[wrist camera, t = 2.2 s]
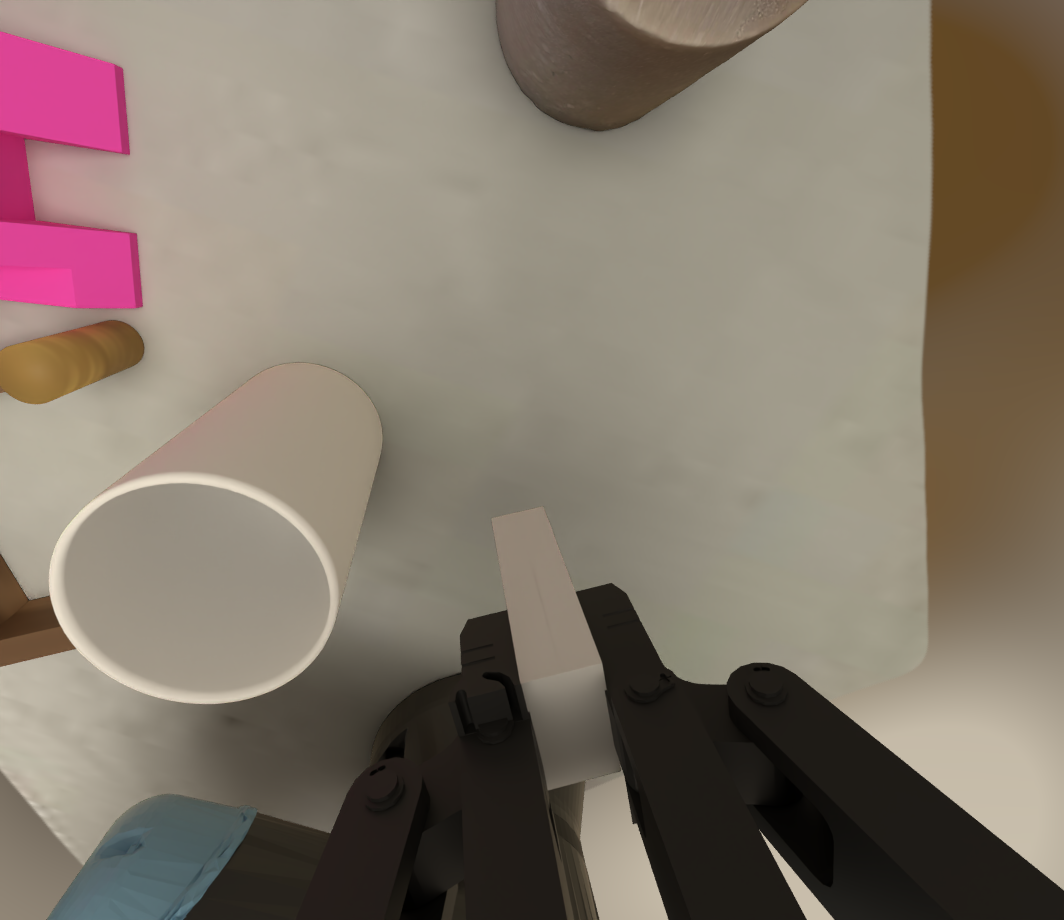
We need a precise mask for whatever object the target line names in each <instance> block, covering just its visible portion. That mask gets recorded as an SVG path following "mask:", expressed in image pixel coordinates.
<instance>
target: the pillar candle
mask: <svg viewBox="0 0 1064 920" xmlns="http://www.w3.org/2000/svg"><path fill="white" fill-rule="evenodd" d="M807 1H808V0H496V21H497V28H498V34H499V38H500V42H501V46H502V50H503V53H504V57H505V59H506V62H507V65H508V67H509V69H510V71H511V73H512V74H513V76H514V78H515V80H516V81H517V83H518V85H519V86H520V88H521V90H522V91H523V92H524V93H525V95H527V96H528V97H529V98H530V99H531V100H532V101H533V102H534V104H535V105H536V106H537V107H538V108H539V109H540V110H542V111H543V112H545V113H546V114H548V115H550V116H551V117H553V118H555V119H557V120H559V121H561V122H563V123H566V124H569V125H572V126H577V127H582V128H589V129H593V130H595V131H604V130H609V129H615V128H619V127H622V126H625V125H627V124H628V123H631V122H633V121H636V120H638V119H640V118H641V117H643V116H644V115H645V114H647V113H648V112H650V111H651V110H653V109H654V108H656V107H658V106H660V105H661V104H662V103H664V102H666V101H667V100H668V99H670V98H671V97H673V96H675V95H676V94H678V93H680V92H681V91H683V90H684V89H685V88H687V87H688V86H690V85H691V84H693V83H694V82H696V81H697V80H698V79H700V78H701V77H703V76H704V75H705V74H707V73H708V72H710V71H711V70H713V69H715V68H716V67H718V66H719V65H721V64H722V63H724V62H726V61H727V60H729V59H730V58H731V57H733V56H734V55H735V54H737V53H738V52H740V51H742V50H743V49H744V48H746V47H747V46H749V45H750V44H752V43H753V42H755V41H756V40H757V39H759V38H760V37H762V36H763V35H765V34H766V33H768V32H769V31H771V30H772V29H774V28H775V27H776V26H778V25H779V24H780V23H782V22H783V21H784V20H785V19H787V18H788V17H789V16H790V15H792V14H793V13H794V12H795V11H797V10H798V9H799V8H800V7H801V6H802V5H804V4H805V3H806V2H807Z"/></svg>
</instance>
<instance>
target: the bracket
mask: <svg viewBox="0 0 1064 920" xmlns="http://www.w3.org/2000/svg"><path fill="white" fill-rule="evenodd" d="M24 138H25V139H31V140H38V141H44V142H51V143H57V144H64V145H70V146H77V147H83V148H90V149H96V150H103V151H109V152H116V153H122V154H128V155H130V149H129V138H128V126H127V114H126V102H125V90H124V78H123V69H122V68H120V67H118V66H117V65H115V64H112V63H108V62H105V61H101V60H98V59H94V58H91V57H87V56H84V55H80V54H77V53H73V52H70V51H66V50H63V49H59V48H56V47H53V46H49V45H46V44H42V43H39V42H35V41H32V40H28V39H25V38H21V37H18V36H14V35H11V34H7V33H4V32H0V300H8V301H17V302H26V303H35V304H44V305H54V306H63V307H72V308H139V307H143V303H142V292H141V280H140V268H139V256H138V244H137V234H135V233H127V232H120V231H112V230H105V229H97V228H90V227H82V226H74V225H67V224H59V223H52V222H44V221H37V220H35V214H34V207H33V200H32V192H31V185H30V178H29V171H28V163H27V156H26V149H25V141H24Z"/></svg>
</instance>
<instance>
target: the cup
mask: <svg viewBox="0 0 1064 920" xmlns="http://www.w3.org/2000/svg"><path fill="white" fill-rule="evenodd" d="M382 444H383V433H382V426H381V422H380V418H379V416H378V413H377V411H376V409H375V407H374V405H373V403H372V402H371V400H370V398H369V397H368V396H367V395H366V393H365V392H364V391H363V390H362V389H361V388H360V387H359V386H358V385H357V384H356V383H355V382H353V381H352V380H351V379H349V378H348V377H346V376H345V375H343V374H341V373H339V372H337V371H335V370H333V369H330V368H328V367H324V366H321V365H316V364H311V363H287V364H282V365H278V366H274V367H271V368H269V369H266V370H264V371H262V372H260V373H259V374H257V375H256V376H254V377H253V378H251V379H250V380H249V381H247V382H246V383H245V384H243V385H242V386H241V387H240V388H238V389H237V390H236V391H234V392H233V393H232V394H230V395H229V396H228V397H226V398H225V399H224V400H222V401H221V402H220V403H219V404H217V405H216V406H215V407H213V408H212V409H211V410H209V411H208V412H207V413H205V414H204V415H203V416H201V417H200V418H199V419H198V420H196V421H195V422H194V423H192V424H191V425H190V426H188V427H187V428H186V429H184V430H183V431H182V432H180V433H179V434H178V435H176V436H175V437H174V438H173V439H171V440H170V441H169V442H167V443H166V444H165V445H163V446H162V447H161V448H159V449H158V450H157V451H155V452H154V453H153V454H152V455H150V456H149V457H148V458H146V459H145V460H144V461H142V462H141V463H140V464H138V465H137V466H136V467H134V468H133V469H132V470H131V471H129V472H128V473H127V474H125V475H124V476H123V477H121V478H120V479H119V480H118V481H116V482H115V483H114V484H112V485H111V486H110V487H108V488H107V489H106V490H105V491H103V492H102V493H101V494H99V495H98V496H97V497H95V498H94V499H93V500H92V501H91V502H89V503H88V504H87V505H86V506H85V507H84V508H83V509H82V510H81V511H80V512H79V513H78V514H77V515H76V516H75V517H74V519H73V520H72V521H71V522H70V523H69V524H68V526H67V527H66V528H65V530H64V531H63V533H62V534H61V536H60V538H59V540H58V542H57V544H56V546H55V549H54V552H53V554H52V559H51V563H50V569H49V591H50V597H51V602H52V606H53V609H54V612H55V615H56V617H57V619H58V622H59V624H60V626H61V627H62V629H63V631H64V633H65V634H66V636H67V637H68V638H69V640H70V641H71V643H72V644H73V645H74V646H75V648H76V649H77V650H78V651H79V652H80V653H81V654H82V655H83V656H84V657H85V658H86V659H87V660H88V661H89V662H90V663H91V664H93V665H94V666H95V667H96V668H98V669H99V670H100V671H102V672H103V673H105V674H106V675H108V676H109V677H111V678H112V679H114V680H116V681H118V682H120V683H121V684H123V685H125V686H128V687H130V688H132V689H134V690H136V691H139V692H142V693H144V694H147V695H151V696H154V697H157V698H161V699H166V700H170V701H176V702H183V703H193V704H219V703H229V702H236V701H241V700H245V699H250V698H253V697H256V696H259V695H262V694H265V693H267V692H270V691H272V690H274V689H276V688H278V687H280V686H282V685H284V684H286V683H287V682H289V681H290V680H292V679H294V678H295V677H296V676H297V675H299V674H300V673H301V672H303V671H304V670H305V669H306V668H307V667H308V666H309V665H310V664H311V663H312V662H313V661H314V659H315V658H316V657H317V656H318V654H319V653H320V652H321V650H322V649H323V647H324V645H325V643H326V642H327V640H328V638H329V636H330V634H331V631H332V629H333V627H334V624H335V621H336V618H337V614H338V610H339V607H340V603H341V599H342V596H343V592H344V589H345V585H346V581H347V578H348V574H349V570H350V567H351V563H352V559H353V555H354V552H355V548H356V544H357V541H358V537H359V533H360V529H361V526H362V522H363V518H364V515H365V511H366V507H367V503H368V500H369V496H370V492H371V489H372V485H373V481H374V477H375V474H376V470H377V466H378V463H379V459H380V455H381V451H382Z"/></svg>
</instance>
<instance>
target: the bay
mask: <svg viewBox="0 0 1064 920" xmlns="http://www.w3.org/2000/svg"><path fill="white" fill-rule="evenodd" d="M143 353H144V344H143V341H142V339H141V337H140V335H139V334H138V332H137V331H136V330H135V329H134V328H132V327H131V326H129V325H128V324H126V323H123V322H120V321H115V320H110V321H105V322H101V323H97V324H93V325H89V326H85V327H81V328H78V329H74V330H70V331H66V332H62V333H58V334H54V335H50V336H46V337H43V338H39V339H35V340H31V341H27V342H23V343H19V344H15V345H12V346H8V347H6V348H4V349H3V350H1V351H0V393H2V392H7V393H8V394H9V395H10V396H12V397H13V398H15V399H17V400H19V401H22V402H25V403H29V404H43V403H47V402H49V401H52V400H54V399H57V398H59V397H61V396H64V395H66V394H68V393H71V392H73V391H75V390H78V389H80V388H82V387H85V386H87V385H89V384H92V383H94V382H96V381H99V380H101V379H103V378H106V377H108V376H110V375H113V374H115V373H118V372H120V371H122V370H125V369H127V368H129V367H132V366H134V365H136V364H137V363H138V362H139V361H140V360H141V358H142V356H143ZM73 649H76V648H75V646H74V645H73V644H72V643H71V641H70V640H69V638H68V637H67V636H66V634H65V633H64V631H63V629H62V627H61V626H60V624H59V622H58V619H57V617H56V615H55V612H54V609H53V606H52V602H51V597H50V596H47V597H43V598H39V599H35V600H30V601H28V599H27V597H26V596H25V594H24V592H23V591H22V589H21V588H20V586H19V584H18V583H17V581H16V579H15V578H14V576H13V574H12V573H11V571H10V570H9V568H8V566H7V565H6V563H5V561H4V560H3V558H2V557H1V555H0V667H1V666H6V665H10V664H14V663H18V662H22V661H27V660H31V659H35V658H39V657H43V656H48V655H52V654H56V653H60V652H65V651H69V650H73Z"/></svg>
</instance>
